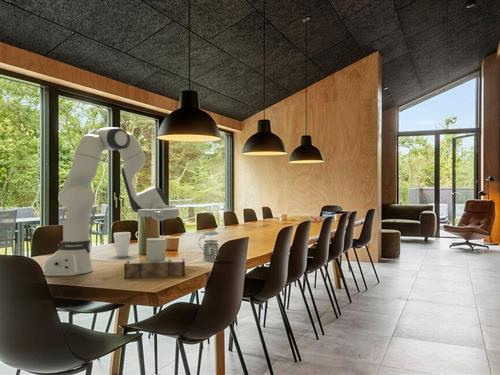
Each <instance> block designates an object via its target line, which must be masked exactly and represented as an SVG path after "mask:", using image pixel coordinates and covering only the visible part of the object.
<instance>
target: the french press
mask: <svg viewBox="0 0 500 375" xmlns="http://www.w3.org/2000/svg"><path fill="white" fill-rule="evenodd" d="M208 215H210V216H212V215H213V212H209V213H208ZM202 234H203V235H202V236H201V237H200V238H199V239H198V241H201V239H202V238H203V239H205V237H206V236H216V235H217V236H218V235H219V234H220V233H219V232H217V231H215V230H212V229H210V230H207V231H205V232H203V233H202ZM217 242H218V240H216V239H215V240H214V239H209V240H208V239H206V240H204V244H203V247H202V246H201V244H199V245H198V246H199V248H200V249H201V250H202V251H203V258H202V259H201V260H202V261H208V262H209V261H211V262H212V261H216V260H215V257H216V254H217V252H218V253H219V243H217Z"/></svg>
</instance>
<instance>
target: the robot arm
mask: <svg viewBox="0 0 500 375" xmlns="http://www.w3.org/2000/svg"><path fill="white" fill-rule="evenodd" d="M116 150H117V151H118V152H119V154H120V156H121V158H122V160H123V166H122V168H121V175H122V179H123V180H122V181H123V183H124V187H125V191H126V194H127V196H128V203H129V207H130V209H131V210H132V212H134V213H137V217H139V218H144V217H145V218H148V217H149V218H150V217H151V218H152V219H153V220H155V221H158V222H161V221H165V220H169V219H170V220H171V219H176V218H178V217H179V216H180V210H179V208H178V207H177V206H176V205H170V204H169V205H167V201H168V200H167V198H166V195H165V193H164V191H163V190H162V189H161V187H158V186H157V185H155V186H151V187H149V188H146V189H145V190H143V191H140V192H138V193H136V191H135V188H134V187H135V186H134V185H133V178H134V177H135V176H136V175H137V174H138V173H139V172H140V171H141V170H142V169H143V167H144V166H145V164H146V160H147V159H146V158H147V157H146V154H145V152H144V150H143V148H142V145H141V143H140V142H139V141H138V139H137V137H136V136H135V135H134V134H133V133H132V132H127V131H126V130H125V129H123V128H120V127H114V126H113V127H111V126H109V127H102V128H97V129H94V130H93V131H92V132H91V133H88V134H84V135H83V136H82V137H81V139H80V140H79V143H78V145H77V147H76V150H75V153H74V157H73V159H72V163H71V167H70V170H69V173H68V175H67V177H66V179H65V182H64V183H63V185H62V188H61V190H60V191H59V193H58V196H57V197H58V198H57V200H58V203H59V204H60V206H62V208H64V209H66V213H65V217H64V220H63V223H62V239H63V240H61V241H60V242H59V243H58V244H57V246H58V250H57V251H55V252H54V253H53V254H52V255H50V256H49V257H47V259H46V260H45V261H44V262H45V263H44V266H43V269H42V270H43V271H44V274H45V276H46V277H49V276H50V277H51V276H54V277H55V276H57V277H58V276H60V277H61V276H76V275H82V274H87V273H91V272H93V271H94V268H93V265H92V259H91V248H92V247H91V240H90V221H91V215H92V210H93V207H94V204H95V202H96V194H95V192H94V191H93V190H92V189H91V188H90V186H91V184H92V182H93V181H94V179H95V178H96V175H97V171H98V168H99V164H100V160H101V155H102V153H103V151H116Z"/></svg>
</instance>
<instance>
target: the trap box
mask: <svg viewBox="0 0 500 375" xmlns="http://www.w3.org/2000/svg"><path fill="white" fill-rule="evenodd" d="M185 267H186V260H185V258H182V259H181V261H172V258H169V259H168V260H165V261H146V260H145V261H144V260H143V259H141V260H140V261H139V262H134V263H131V262H130V260H126V261H125V262H124V264H123V268H124V270H123V271H124V272H123V273H124V274H123V275H124V276H123V277H124V279H141V278H142V279H145V278H146V279H148V278H166V277H168V278H169V276H172V277H185V276H186V272H185V271H186V268H185Z"/></svg>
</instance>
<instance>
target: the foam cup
mask: <svg viewBox="0 0 500 375" xmlns="http://www.w3.org/2000/svg"><path fill="white" fill-rule="evenodd" d="M131 235H132V234H131V232H129V231H121V232H120V231H118V232H114V233H113V240H114V247H115V254H116V257H118V258H119V257H121V258H122V257H123V258H124V257H127V256H129V253H130V252H129V251H130V243H131V237H132V236H131Z"/></svg>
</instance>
